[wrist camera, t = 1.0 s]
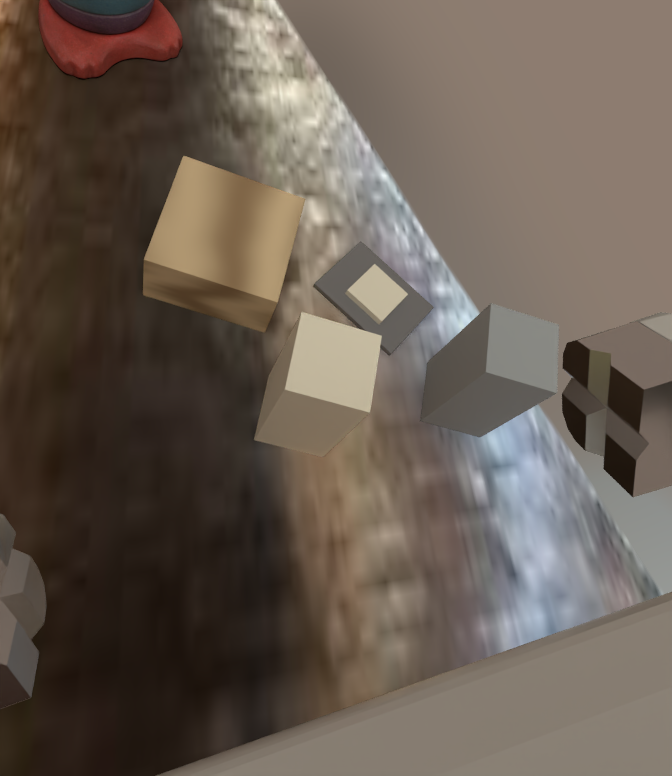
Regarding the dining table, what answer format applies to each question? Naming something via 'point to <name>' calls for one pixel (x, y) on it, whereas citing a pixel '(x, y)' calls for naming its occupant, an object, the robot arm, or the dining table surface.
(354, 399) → the cream block
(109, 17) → the stacking bear
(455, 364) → the grey block
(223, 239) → the oak pedestal
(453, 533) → the dining table surface
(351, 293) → the card
